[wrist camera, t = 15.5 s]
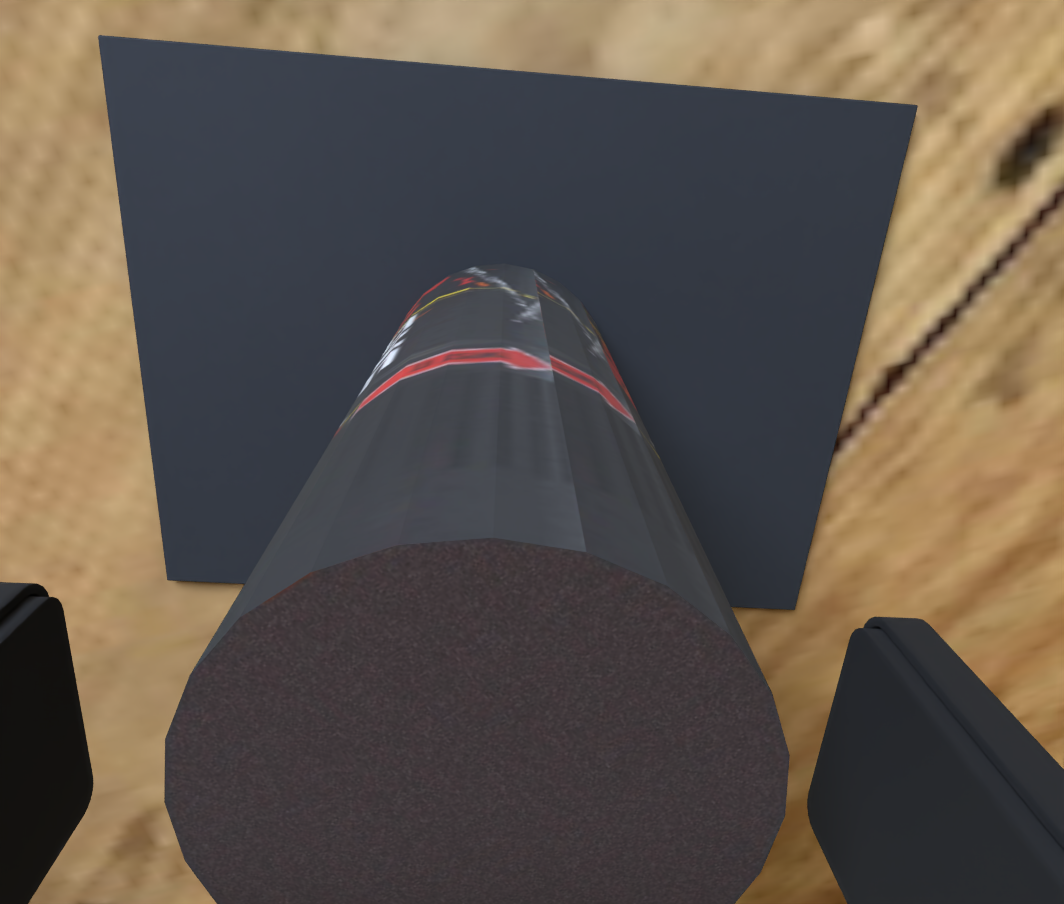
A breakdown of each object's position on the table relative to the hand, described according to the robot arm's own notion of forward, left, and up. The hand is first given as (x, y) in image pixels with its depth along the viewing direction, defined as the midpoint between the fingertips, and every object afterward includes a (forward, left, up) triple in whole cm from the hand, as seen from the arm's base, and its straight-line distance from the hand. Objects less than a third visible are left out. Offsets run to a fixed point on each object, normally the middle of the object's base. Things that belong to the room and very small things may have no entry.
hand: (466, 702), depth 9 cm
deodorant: (0, 0, -13) cm, 13 cm away
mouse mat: (0, 0, -14) cm, 13 cm away
